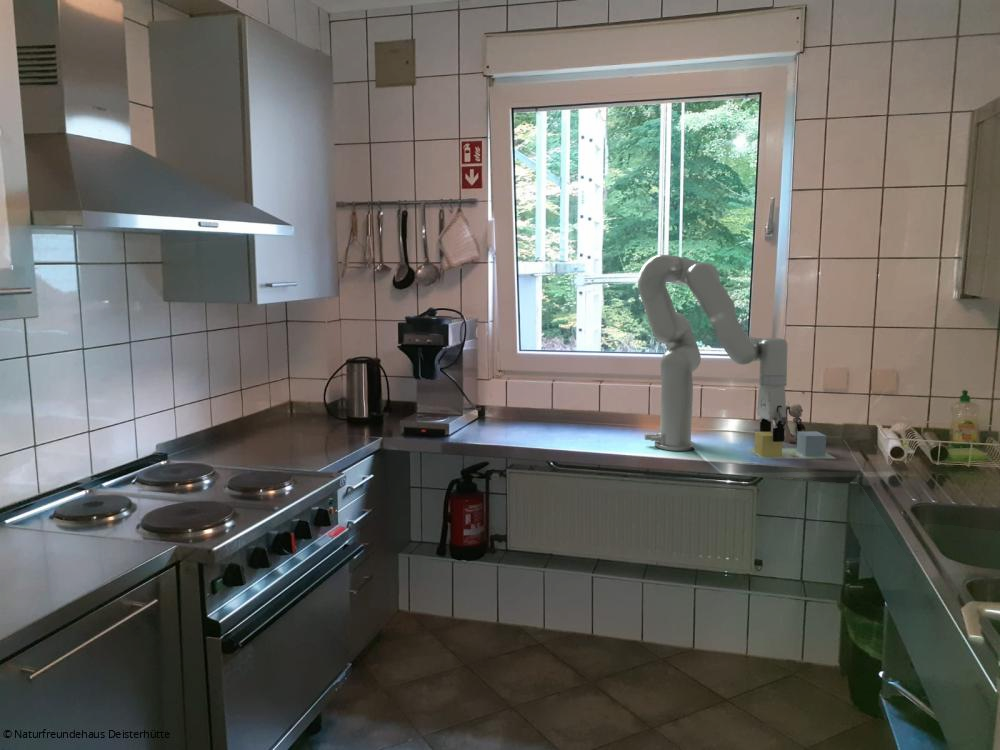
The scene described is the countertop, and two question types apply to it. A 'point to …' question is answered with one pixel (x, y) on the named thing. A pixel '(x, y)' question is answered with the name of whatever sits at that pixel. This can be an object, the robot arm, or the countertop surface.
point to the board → (793, 455)
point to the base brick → (811, 443)
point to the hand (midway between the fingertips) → (771, 438)
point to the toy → (799, 427)
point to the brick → (767, 444)
